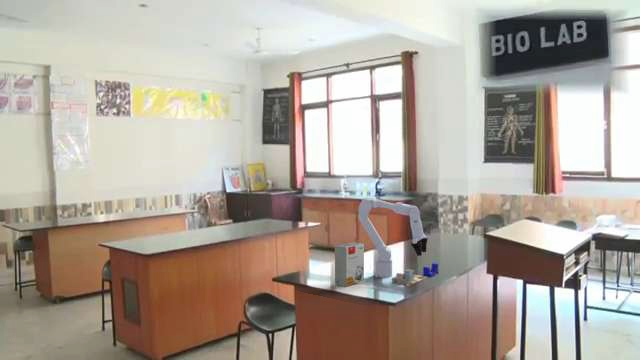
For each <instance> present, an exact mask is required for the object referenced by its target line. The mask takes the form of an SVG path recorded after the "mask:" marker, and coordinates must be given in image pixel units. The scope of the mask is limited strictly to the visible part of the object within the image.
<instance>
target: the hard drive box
mask: <svg viewBox="0 0 640 360" xmlns="http://www.w3.org/2000/svg"><path fill="white" fill-rule="evenodd" d="M363 280H365V244H364V243H360V242H349V243H343V244H339V245H335V246H334V285H335V286H336V285H337V286H340V287H345V288H347V287H350V286H353V285H356V284H357V283H358V282H361V281H363Z"/></svg>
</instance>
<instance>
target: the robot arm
mask: <svg viewBox="0 0 640 360" xmlns="http://www.w3.org/2000/svg"><path fill="white" fill-rule="evenodd" d="M376 208H382V209H383V208H384V209H387V210H393V211H394V213H395V214H399V215H404V216H406V217H407V216H409V220H410V221H409V222H410V223H409V224H410V227H411V228H410V229H411V233H412V241H411V243H410V245H411V247H412V248H413V249H414V251H415V254H416V255H417V257H418V256H419V257H420V256H422V255H423V253H426V252H427V245H428V240H429V239H428V237H427V235H426V233H424V229H423V225H422V219H421V216H420V215H421V211H420V210H419V208H418V206H417V205H412V204H406V203H403V202H402V201H399V202H396V203H391V202H388V201H385V200H381V199H376V198H369V197H364V198H363V199H362V200H361V202H360V203H359V206H358V220H359V222H360V223H361V225H362V228H364V230H365V232H366V233H367V235H368V237H369V238H370V240H371V242H372V244H373V245H374V246H375V248H376V251H377V253H378V257H379V259H378V260H374V273H373V274H374V276H375V277H376V278H392V277H393V260H392V259H391V258H392V251H391V249H390V247H388V246H386V244H385V243H384V241H383V240H382V238H381V237H380V234H379V233H378V231H377V230H376V228H375V227H374V225H373V223H372V222H371V220H370V219H369V214H370V212H371V210H372V209H376Z"/></svg>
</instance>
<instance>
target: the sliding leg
mask: <svg viewBox="0 0 640 360" xmlns="http://www.w3.org/2000/svg"><path fill="white" fill-rule="evenodd" d="M404 273H405V280H408V281H410V282H411V280H414V276H413V269H407V268H406V269H405V270H404ZM408 281H407V282H408Z"/></svg>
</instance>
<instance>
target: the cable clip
mask: <svg viewBox="0 0 640 360" xmlns="http://www.w3.org/2000/svg"><path fill="white" fill-rule="evenodd" d="M422 271H423V272H422V276H425V277H427V278H432V277H434V276H437V275H439V263H437V262H436V263H435V262H432V264H431V269H430V267H429V266H423V267H422Z"/></svg>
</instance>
